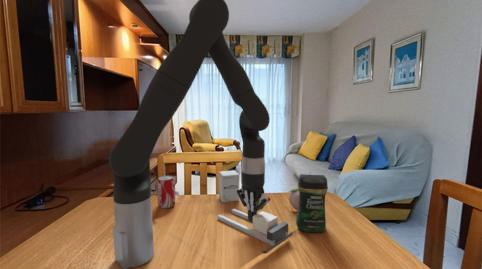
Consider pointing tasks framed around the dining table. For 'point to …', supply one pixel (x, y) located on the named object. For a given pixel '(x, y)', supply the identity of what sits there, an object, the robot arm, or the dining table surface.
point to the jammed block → (264, 222)
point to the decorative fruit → (294, 198)
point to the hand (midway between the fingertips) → (252, 220)
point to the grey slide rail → (273, 235)
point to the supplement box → (228, 186)
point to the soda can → (166, 191)
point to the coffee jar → (311, 203)
